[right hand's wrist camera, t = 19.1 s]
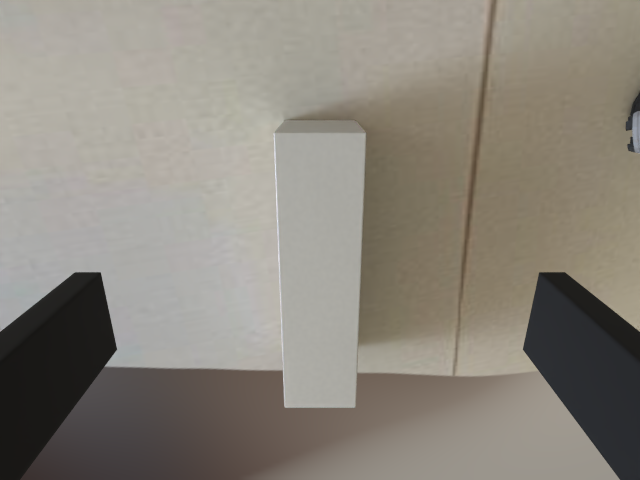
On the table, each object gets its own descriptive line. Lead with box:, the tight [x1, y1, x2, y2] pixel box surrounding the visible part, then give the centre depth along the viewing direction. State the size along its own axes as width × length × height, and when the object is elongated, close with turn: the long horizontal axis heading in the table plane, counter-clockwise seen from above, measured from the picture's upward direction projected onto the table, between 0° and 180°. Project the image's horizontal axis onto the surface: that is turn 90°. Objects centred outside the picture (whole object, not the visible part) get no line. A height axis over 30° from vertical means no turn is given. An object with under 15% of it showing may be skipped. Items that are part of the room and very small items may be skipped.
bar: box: [274, 120, 367, 408], centre depth 34 cm, size 22×6×8 cm, turn 0°
